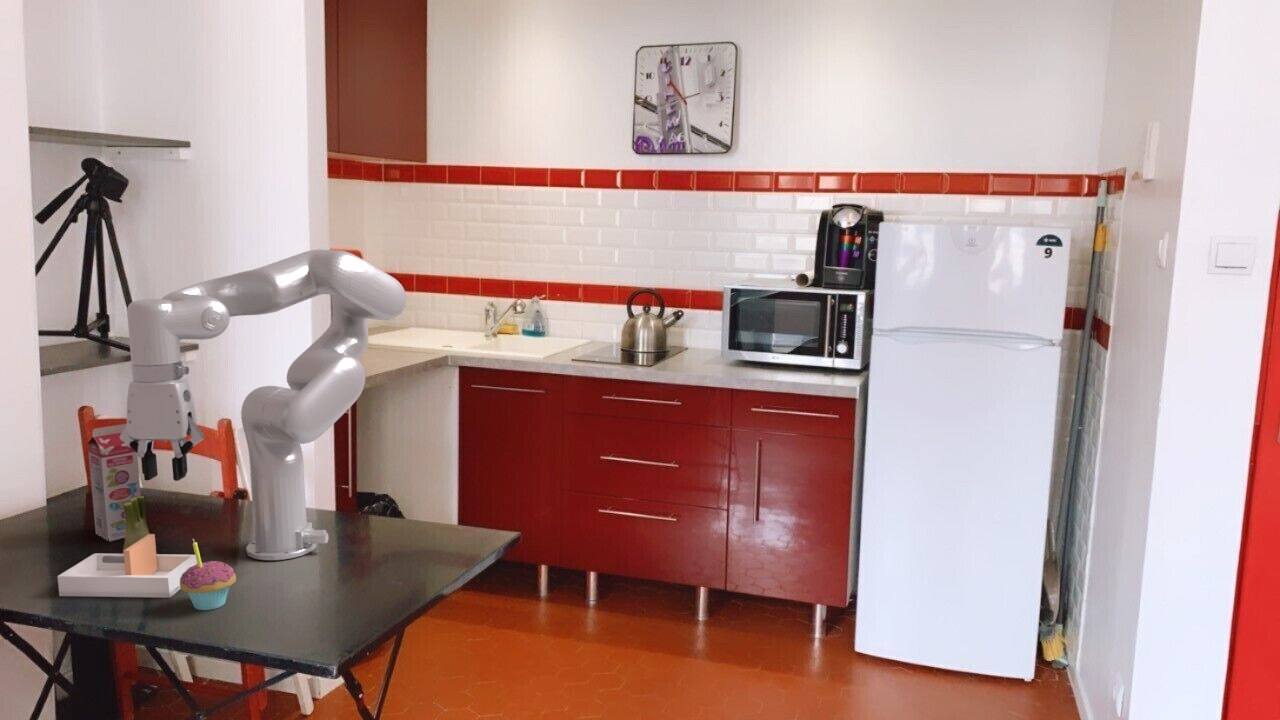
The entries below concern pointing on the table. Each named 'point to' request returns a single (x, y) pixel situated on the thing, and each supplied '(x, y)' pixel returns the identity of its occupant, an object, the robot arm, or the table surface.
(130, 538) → the fennel bulb
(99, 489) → the juice carton
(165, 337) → the robot arm
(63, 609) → the table surface
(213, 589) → the cupcake
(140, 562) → the pusher
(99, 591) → the white tray
